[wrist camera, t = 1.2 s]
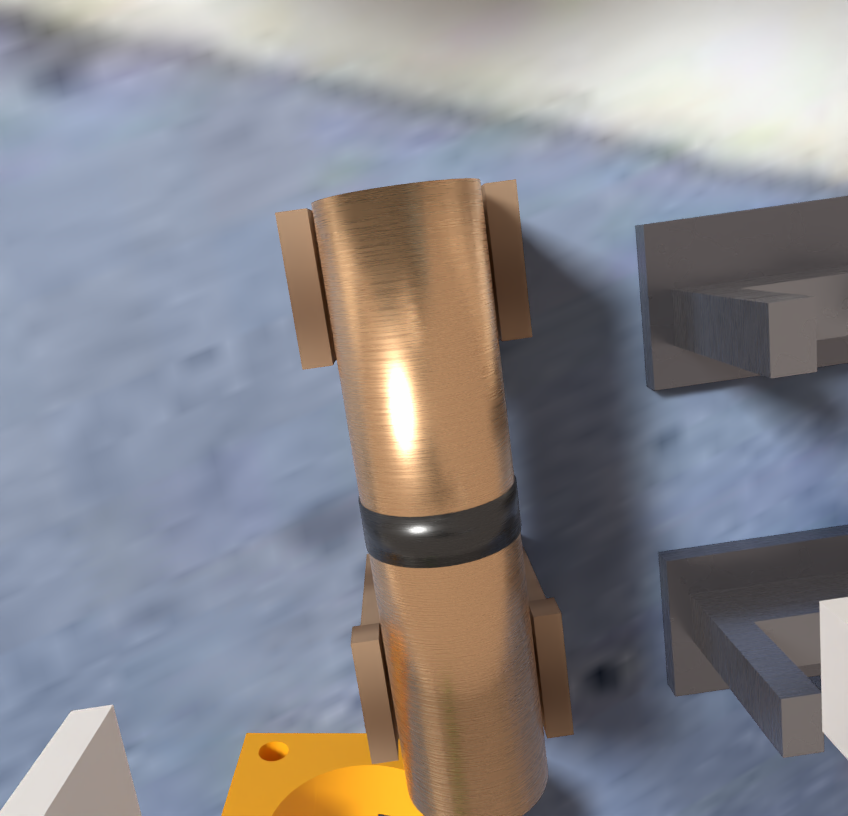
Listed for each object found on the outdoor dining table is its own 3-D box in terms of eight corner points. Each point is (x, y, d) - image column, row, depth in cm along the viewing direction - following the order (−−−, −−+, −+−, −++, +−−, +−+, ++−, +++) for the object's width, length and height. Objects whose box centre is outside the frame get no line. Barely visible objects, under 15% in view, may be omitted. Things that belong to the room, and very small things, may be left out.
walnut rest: (304, 222, 30) (274, 212, 23) (485, 197, 30) (515, 179, 23) (376, 652, 34) (371, 764, 27) (534, 628, 34) (573, 734, 27)
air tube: (318, 209, 24) (299, 198, 19) (472, 188, 24) (492, 171, 19) (404, 737, 28) (406, 842, 23) (534, 718, 28) (564, 818, 23)
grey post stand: (635, 225, 31) (732, 215, 22) (913, 186, 31) (1121, 160, 22) (667, 684, 35) (758, 827, 27) (908, 648, 35) (1077, 779, 27)
